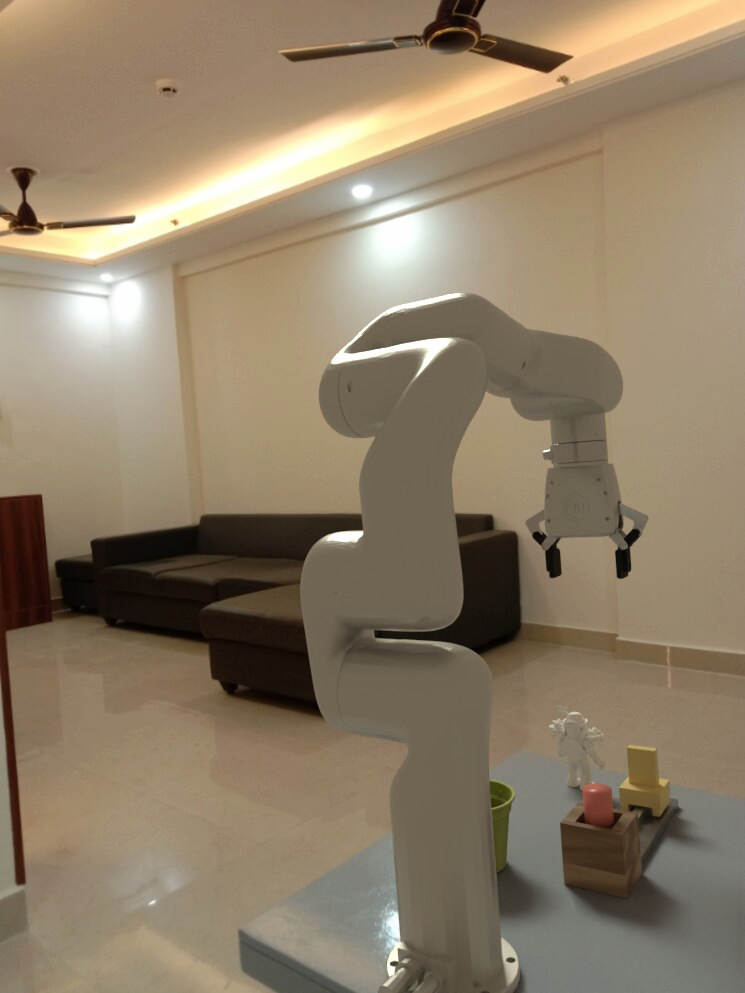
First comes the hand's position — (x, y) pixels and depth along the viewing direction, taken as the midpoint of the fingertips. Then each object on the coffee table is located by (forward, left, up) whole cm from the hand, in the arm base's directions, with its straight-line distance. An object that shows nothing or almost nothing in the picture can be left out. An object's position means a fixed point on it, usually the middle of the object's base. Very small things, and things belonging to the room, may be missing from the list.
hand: (588, 577), depth 111 cm
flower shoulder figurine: (+2, +4, -31) cm, 32 cm away
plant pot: (-25, +7, -31) cm, 41 cm away
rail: (-9, -7, -31) cm, 33 cm away
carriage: (-4, -7, -30) cm, 31 cm away
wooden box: (-22, -7, -31) cm, 39 cm away
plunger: (-22, -7, -26) cm, 35 cm away
